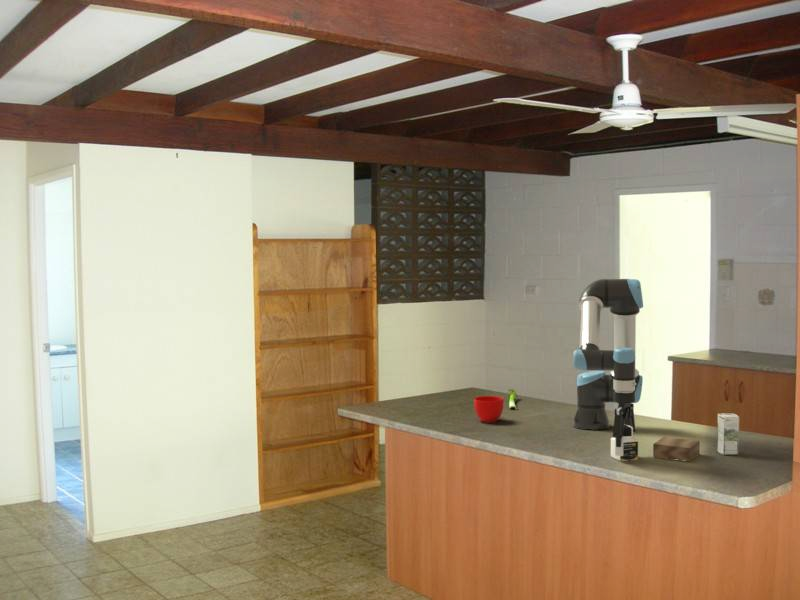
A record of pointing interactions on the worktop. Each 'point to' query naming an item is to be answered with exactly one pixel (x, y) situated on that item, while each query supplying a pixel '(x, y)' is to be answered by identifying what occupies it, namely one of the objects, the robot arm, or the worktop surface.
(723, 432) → the syrup box
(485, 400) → the ceramic cup
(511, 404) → the leek
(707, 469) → the worktop surface
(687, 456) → the walnut base
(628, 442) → the medicine bottle
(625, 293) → the robot arm
